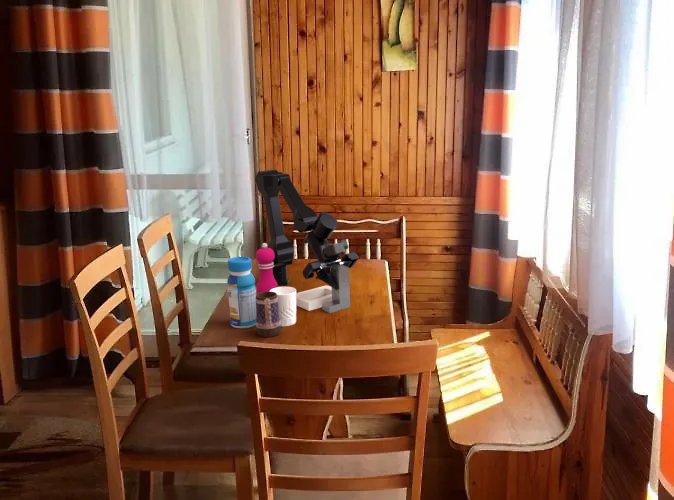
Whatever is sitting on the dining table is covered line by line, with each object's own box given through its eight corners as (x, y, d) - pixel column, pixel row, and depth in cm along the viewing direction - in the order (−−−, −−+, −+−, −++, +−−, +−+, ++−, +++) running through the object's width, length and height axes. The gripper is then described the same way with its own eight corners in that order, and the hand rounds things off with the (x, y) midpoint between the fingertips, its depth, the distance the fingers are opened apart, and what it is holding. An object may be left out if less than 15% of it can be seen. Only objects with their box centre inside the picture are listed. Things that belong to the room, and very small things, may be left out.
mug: (256, 329, 217) (253, 290, 214) (281, 327, 218) (278, 288, 215) (256, 342, 207) (253, 301, 204) (281, 340, 208) (279, 299, 205)
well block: (289, 302, 240) (288, 295, 239) (326, 292, 248) (326, 285, 248) (309, 310, 231) (308, 303, 230) (347, 300, 240) (346, 292, 239)
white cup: (277, 329, 217) (275, 296, 214) (267, 321, 223) (265, 289, 221) (302, 324, 220) (300, 291, 218) (291, 316, 227) (289, 285, 224)
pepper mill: (281, 299, 243) (277, 240, 238) (277, 306, 236) (273, 245, 231) (259, 299, 244) (255, 240, 238) (255, 307, 237) (250, 246, 231)
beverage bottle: (254, 329, 217) (249, 263, 212) (226, 328, 219) (220, 263, 214) (261, 319, 225) (257, 255, 220) (235, 318, 227) (230, 255, 222)
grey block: (322, 309, 231) (320, 269, 228) (342, 304, 236) (340, 264, 233) (329, 313, 228) (327, 272, 225) (350, 307, 233) (348, 267, 230)
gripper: (305, 237, 225) (329, 280, 219) (354, 227, 236) (377, 267, 230) (292, 257, 233) (314, 299, 228) (340, 247, 244) (362, 286, 238)
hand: (343, 287), depth 231 cm, fingers closed on grey block, 4 cm apart
